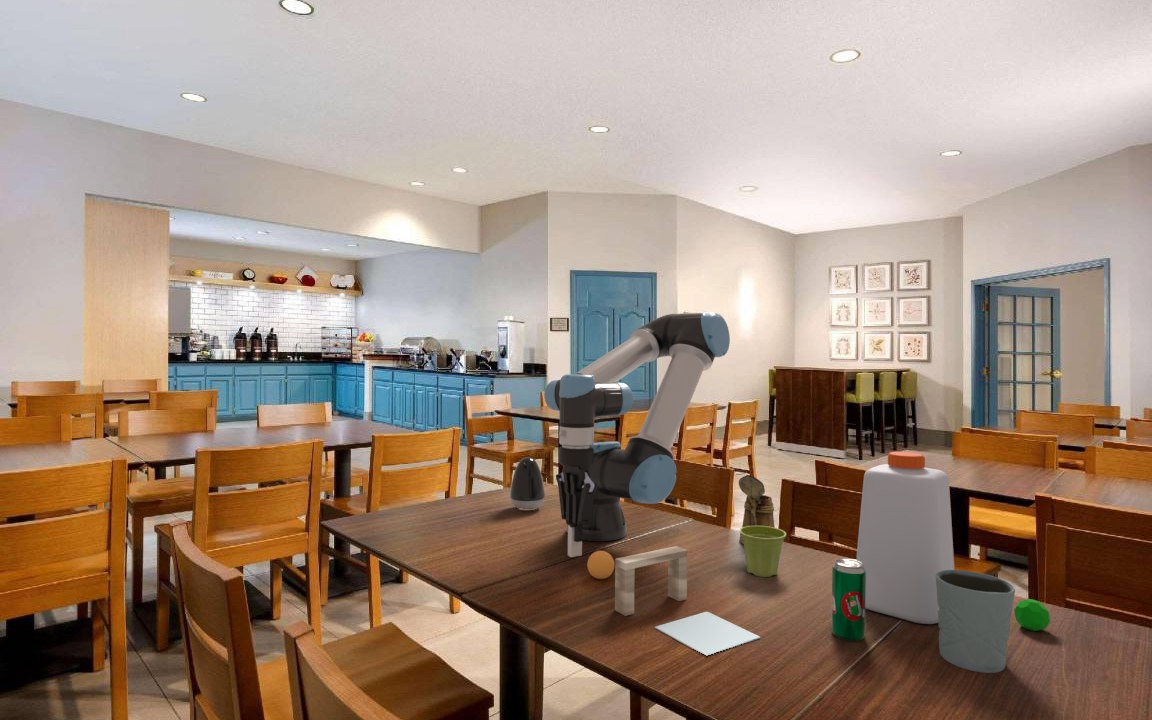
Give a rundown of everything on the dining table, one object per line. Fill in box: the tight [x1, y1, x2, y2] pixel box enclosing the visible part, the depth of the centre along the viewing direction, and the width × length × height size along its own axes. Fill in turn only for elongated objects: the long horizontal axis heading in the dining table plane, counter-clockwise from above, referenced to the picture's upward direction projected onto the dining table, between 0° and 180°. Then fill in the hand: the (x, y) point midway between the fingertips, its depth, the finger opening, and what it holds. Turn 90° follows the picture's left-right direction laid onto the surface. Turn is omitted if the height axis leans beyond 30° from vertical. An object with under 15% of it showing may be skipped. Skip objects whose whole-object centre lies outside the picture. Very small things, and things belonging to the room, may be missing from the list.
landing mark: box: [654, 611, 761, 657], centre depth 105 cm, size 12×12×1 cm
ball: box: [586, 550, 615, 580], centre depth 130 cm, size 6×6×6 cm
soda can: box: [830, 558, 866, 642], centre depth 105 cm, size 5×5×12 cm
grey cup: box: [936, 569, 1016, 674], centre depth 97 cm, size 10×10×12 cm
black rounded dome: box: [509, 457, 546, 509], centre depth 187 cm, size 10×10×15 cm
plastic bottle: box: [855, 451, 955, 625], centre depth 117 cm, size 15×15×28 cm
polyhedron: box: [1013, 598, 1051, 632], centre depth 108 cm, size 5×5×5 cm
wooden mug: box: [738, 474, 776, 545], centre depth 154 cm, size 9×14×18 cm, turn 148°
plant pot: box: [739, 526, 787, 578], centre depth 135 cm, size 9×9×9 cm
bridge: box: [614, 545, 688, 617], centre depth 117 cm, size 3×14×9 cm, turn 123°
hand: (574, 555), depth 138 cm, fingers closed
